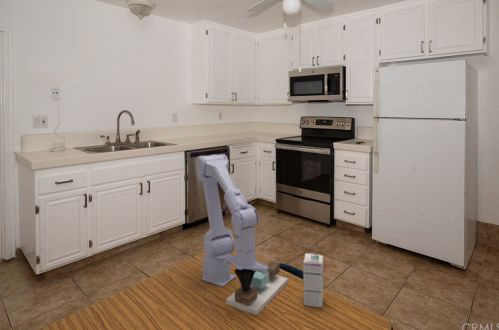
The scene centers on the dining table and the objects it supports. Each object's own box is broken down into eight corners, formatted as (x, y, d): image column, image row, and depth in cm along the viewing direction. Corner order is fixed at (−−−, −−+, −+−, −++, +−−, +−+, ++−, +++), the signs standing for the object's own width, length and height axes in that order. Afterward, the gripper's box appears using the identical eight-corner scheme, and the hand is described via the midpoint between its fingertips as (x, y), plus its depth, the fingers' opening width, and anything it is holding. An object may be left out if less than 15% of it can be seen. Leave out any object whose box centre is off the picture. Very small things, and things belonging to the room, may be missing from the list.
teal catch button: (248, 284, 103) (247, 275, 103) (256, 277, 107) (255, 268, 107) (261, 288, 101) (261, 279, 100) (269, 281, 105) (269, 272, 104)
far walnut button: (259, 274, 110) (259, 265, 109) (266, 268, 114) (266, 260, 113) (272, 278, 107) (272, 269, 106) (279, 272, 111) (279, 263, 111)
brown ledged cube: (234, 301, 97) (234, 291, 97) (243, 293, 101) (243, 283, 101) (248, 306, 95) (248, 296, 94) (257, 297, 99) (257, 288, 98)
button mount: (226, 303, 99) (225, 293, 98) (260, 274, 116) (260, 265, 116) (256, 315, 93) (256, 304, 92) (287, 282, 110) (288, 273, 110)
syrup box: (322, 308, 96) (323, 262, 94) (302, 305, 97) (303, 260, 95) (322, 297, 101) (324, 254, 99) (304, 295, 103) (304, 252, 100)
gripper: (217, 247, 96) (219, 289, 98) (259, 258, 88) (260, 303, 90) (231, 239, 102) (232, 279, 104) (271, 249, 94) (271, 291, 96)
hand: (246, 290), depth 98 cm, fingers closed, pressing on brown ledged cube
